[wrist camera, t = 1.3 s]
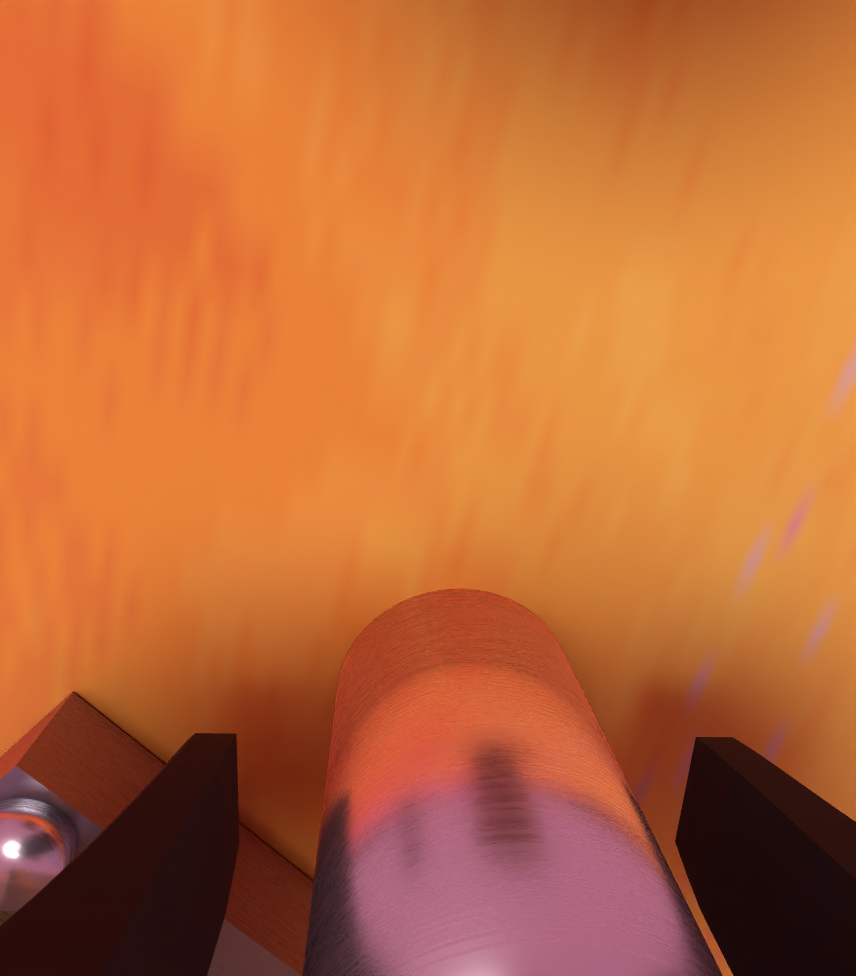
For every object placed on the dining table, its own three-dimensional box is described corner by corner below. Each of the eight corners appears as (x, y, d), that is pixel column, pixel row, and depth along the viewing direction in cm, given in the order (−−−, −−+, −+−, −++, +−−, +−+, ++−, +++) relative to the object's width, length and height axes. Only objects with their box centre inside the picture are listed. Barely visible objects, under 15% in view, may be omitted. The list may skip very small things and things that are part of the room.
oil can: (615, 698, 13) (1000, 1379, 5) (444, 831, 14) (528, 1625, 6) (466, 541, 12) (640, 1082, 4) (286, 693, 13) (106, 1436, 4)
